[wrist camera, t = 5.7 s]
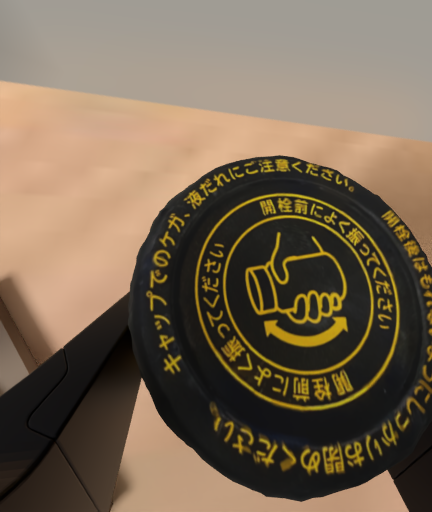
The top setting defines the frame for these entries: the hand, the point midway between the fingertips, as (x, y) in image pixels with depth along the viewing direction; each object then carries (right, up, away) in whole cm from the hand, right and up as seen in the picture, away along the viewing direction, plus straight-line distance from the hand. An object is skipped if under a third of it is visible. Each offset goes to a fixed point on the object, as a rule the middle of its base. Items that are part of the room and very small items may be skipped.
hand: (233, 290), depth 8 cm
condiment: (0, -3, +6) cm, 7 cm away
